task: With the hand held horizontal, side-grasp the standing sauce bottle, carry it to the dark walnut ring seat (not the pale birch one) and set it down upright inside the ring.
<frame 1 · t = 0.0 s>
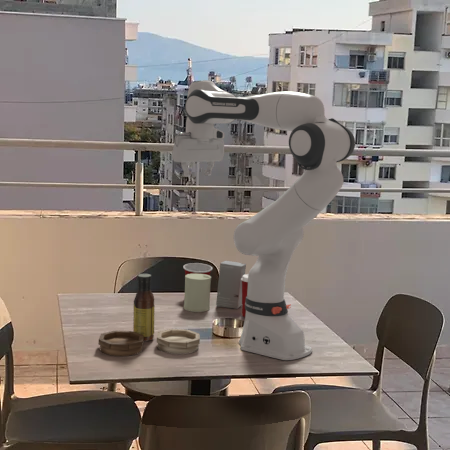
hand: (197, 176, 233), 48 cm above the table, tool pointing down, fingers open, 8 cm apart
skincare box: (230, 306, 261), on the table
birch ring seat: (178, 347, 213), on the table
can: (196, 308, 255), on the table
plastic cup: (196, 298, 269), on the table
paper cup: (250, 316, 249), on the table
sauce bottle: (143, 339, 219), on the table
walnut ring seat: (121, 349, 209), on the table
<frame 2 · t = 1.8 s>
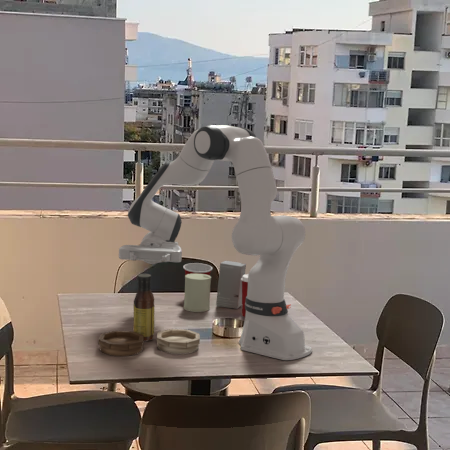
hand: (148, 258, 227), 22 cm above the table, tool horizontal, fingers open, 8 cm apart
nothing on the table moved.
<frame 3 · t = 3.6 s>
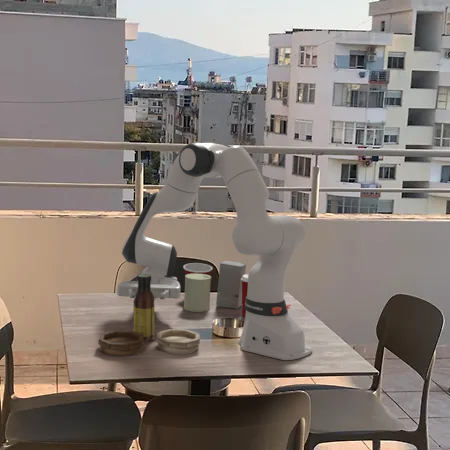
hand: (147, 296, 226), 11 cm above the table, tool horizontal, fingers open, 8 cm apart
nothing on the table moved.
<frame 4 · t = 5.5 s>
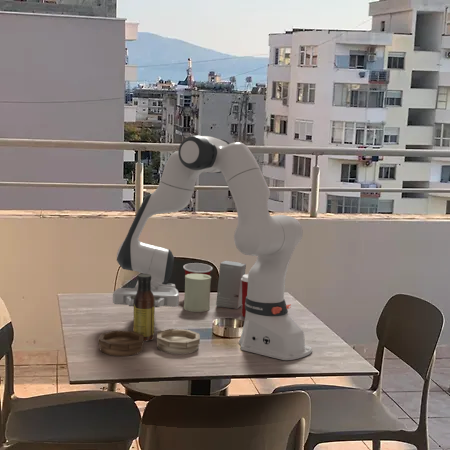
hand: (144, 304, 216), 11 cm above the table, tool horizontal, fingers closed on sauce bottle, 6 cm apart
sauce bottle: (143, 339, 219), on the table, touching gripper
everything else where it was.
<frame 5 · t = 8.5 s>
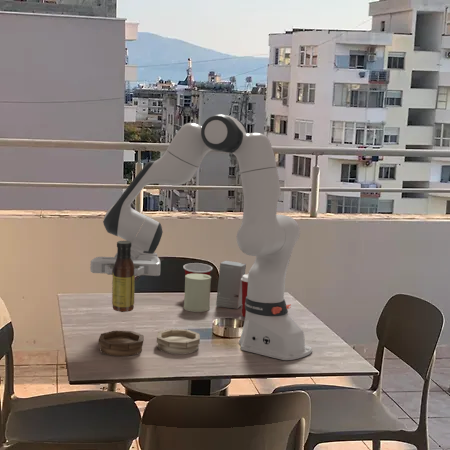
hand: (123, 272, 204), 23 cm above the table, tool horizontal, fingers closed on sauce bottle, 6 cm apart
sauce bottle: (122, 310, 207), point 11 cm above the table, touching gripper
everything else where it was.
when the fingers open (14 cm above the table, at t = 11.0 s): sauce bottle stays where it is, resting on walnut ring seat.
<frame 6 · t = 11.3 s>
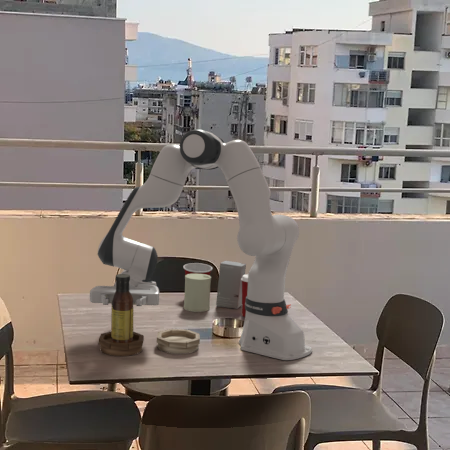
hand: (122, 302, 206), 14 cm above the table, tool horizontal, fingers open, 8 cm apart
sauce bottle: (121, 343, 209), point 2 cm above the table, touching walnut ring seat
everything else where it was.
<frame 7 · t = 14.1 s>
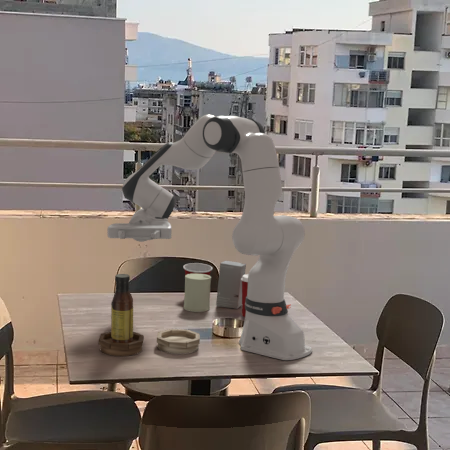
hand: (137, 236, 223), 30 cm above the table, tool horizontal, fingers open, 8 cm apart
nothing on the table moved.
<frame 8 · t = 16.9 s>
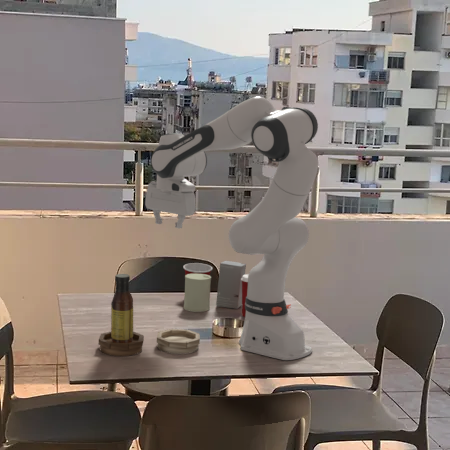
hand: (168, 225, 236), 31 cm above the table, tool pointing down, fingers open, 8 cm apart
nothing on the table moved.
at the end: sauce bottle inside the target area on the walnut ring seat (0.1 cm from its centre), point 1.8 cm above the walnut ring seat's base; sauce bottle tilted 0°; the gripper is holding nothing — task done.
